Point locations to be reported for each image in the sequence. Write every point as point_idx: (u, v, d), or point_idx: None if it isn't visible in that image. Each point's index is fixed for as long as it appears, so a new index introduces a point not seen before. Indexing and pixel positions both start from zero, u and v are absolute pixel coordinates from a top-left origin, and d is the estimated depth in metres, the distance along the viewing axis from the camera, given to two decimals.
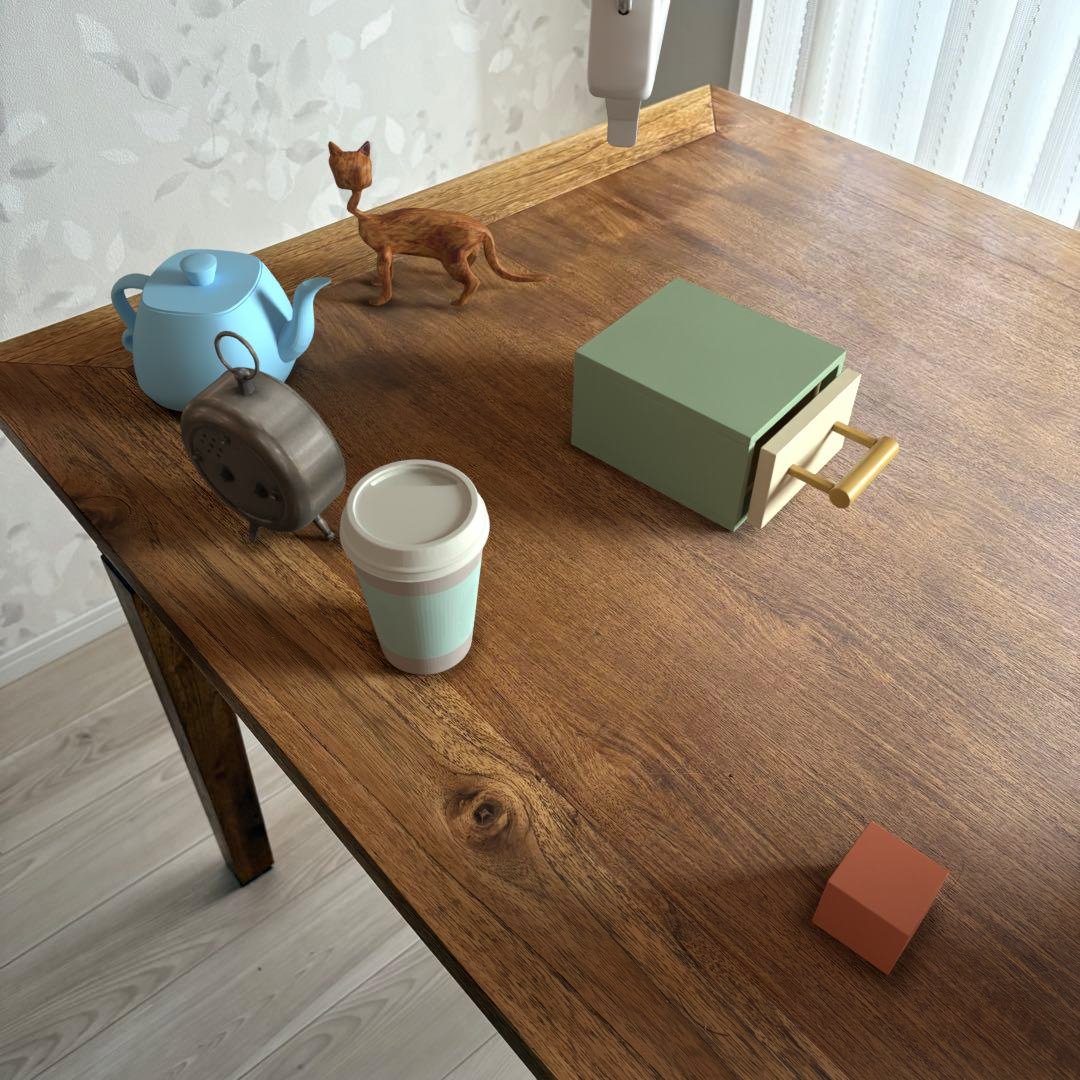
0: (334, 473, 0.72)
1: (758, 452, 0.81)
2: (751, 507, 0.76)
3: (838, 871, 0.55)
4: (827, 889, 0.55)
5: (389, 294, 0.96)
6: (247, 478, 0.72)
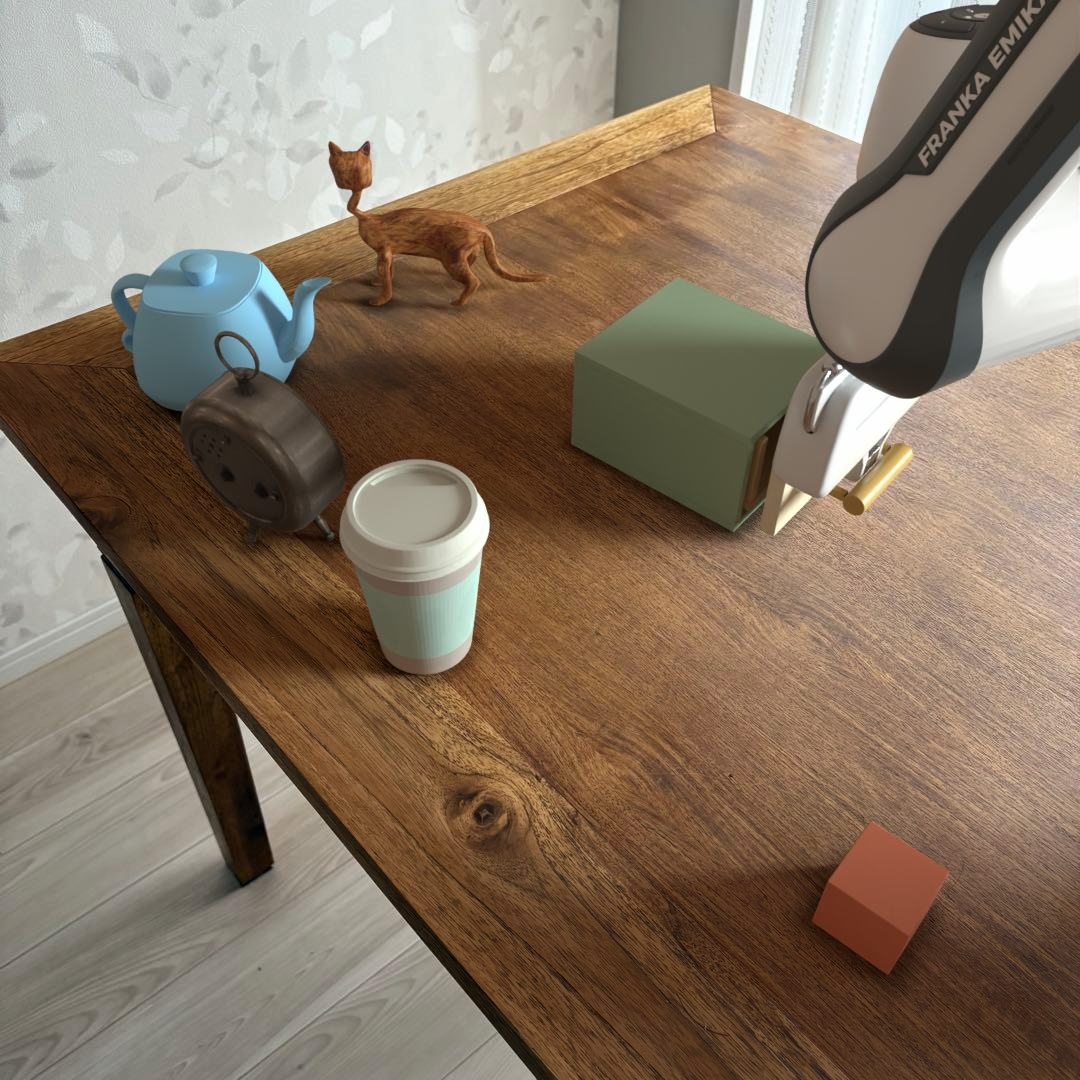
0: (334, 473, 0.72)
1: (770, 458, 0.80)
2: (764, 514, 0.75)
3: (838, 871, 0.55)
4: (827, 889, 0.55)
5: (389, 294, 0.96)
6: (247, 478, 0.72)
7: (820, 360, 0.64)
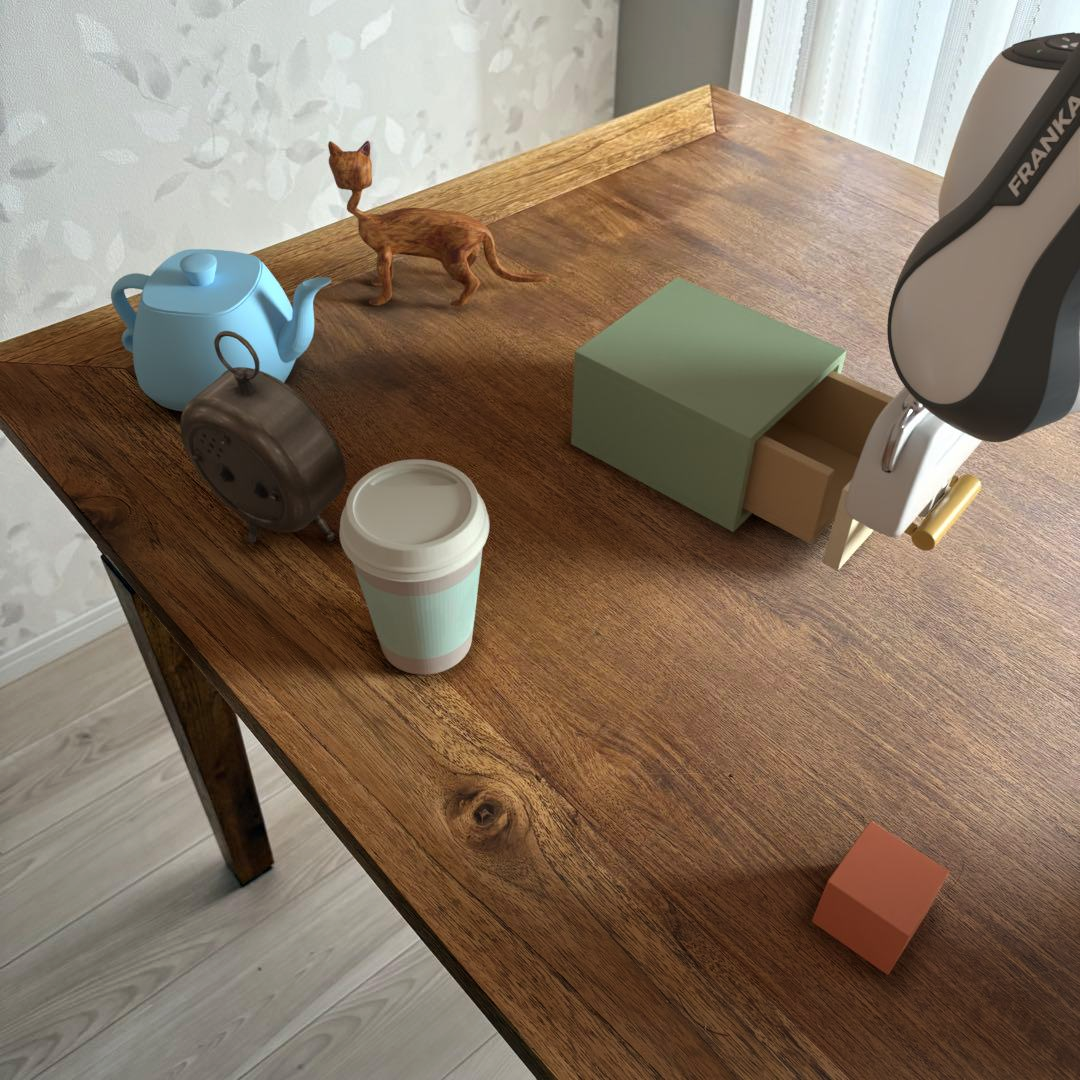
0: (334, 473, 0.72)
1: (831, 488, 0.78)
2: (828, 548, 0.73)
3: (838, 871, 0.55)
4: (827, 889, 0.55)
5: (389, 294, 0.96)
6: (247, 478, 0.72)
7: (897, 396, 0.62)
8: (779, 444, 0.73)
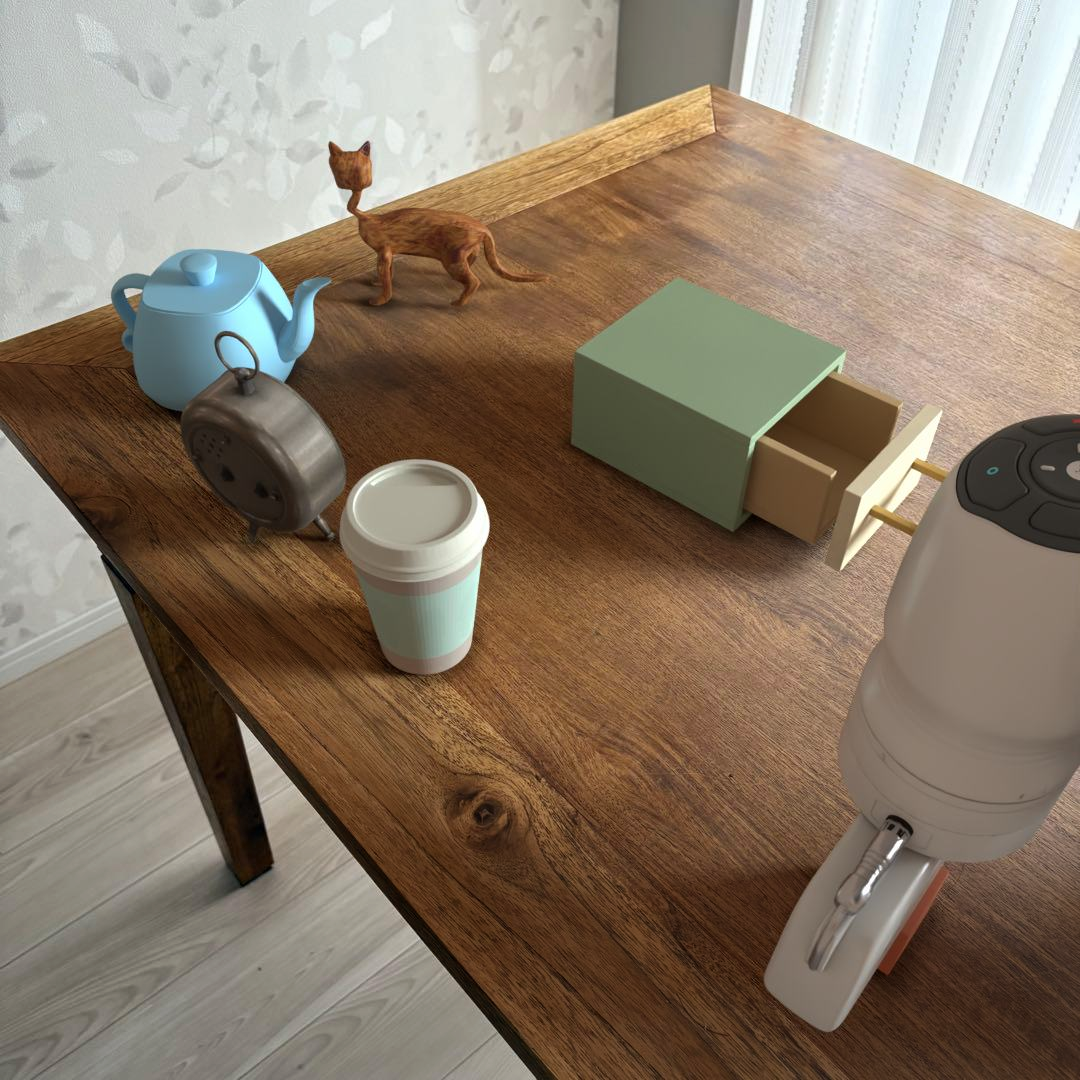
0: (334, 473, 0.72)
1: (833, 489, 0.78)
2: (830, 549, 0.73)
3: None
4: None
5: (389, 294, 0.96)
6: (247, 478, 0.72)
7: (831, 861, 0.45)
8: (781, 445, 0.73)
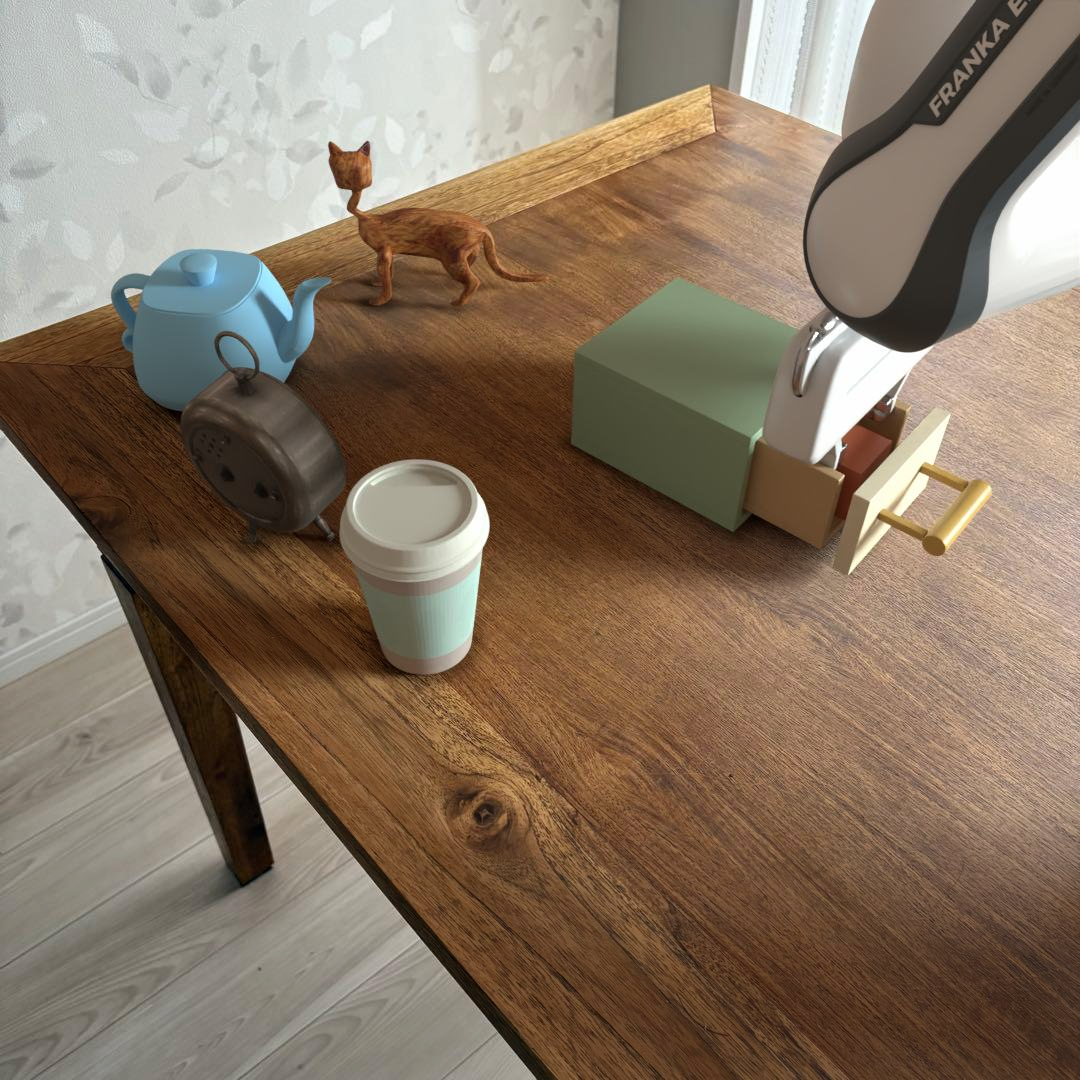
0: (334, 473, 0.72)
1: None
2: (838, 553, 0.73)
3: None
4: None
5: (389, 294, 0.96)
6: (247, 478, 0.72)
7: (808, 323, 0.63)
8: None
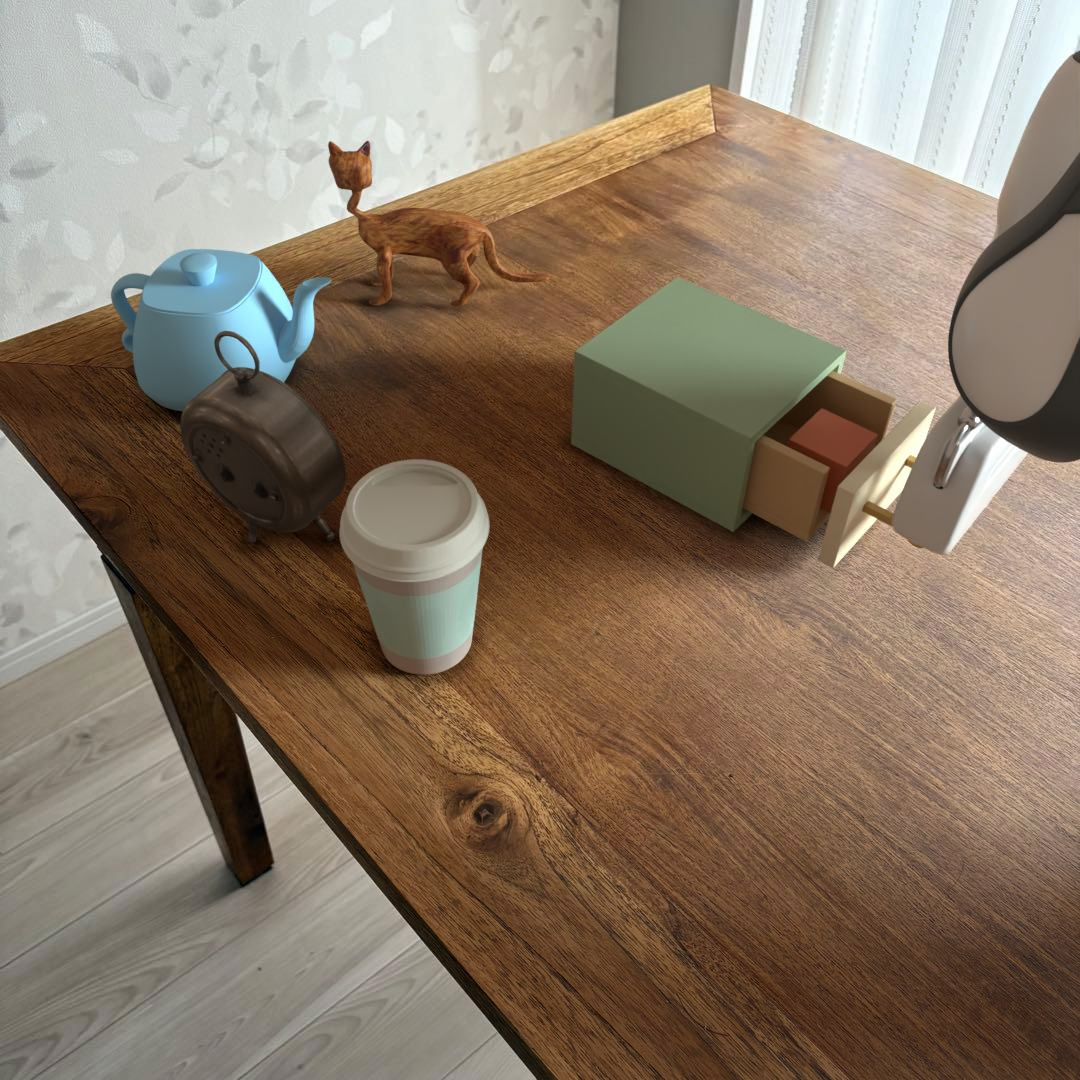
0: (334, 473, 0.72)
1: None
2: (824, 545, 0.73)
3: (796, 433, 0.75)
4: None
5: (389, 294, 0.96)
6: (247, 478, 0.72)
7: (950, 410, 0.60)
8: (774, 442, 0.73)
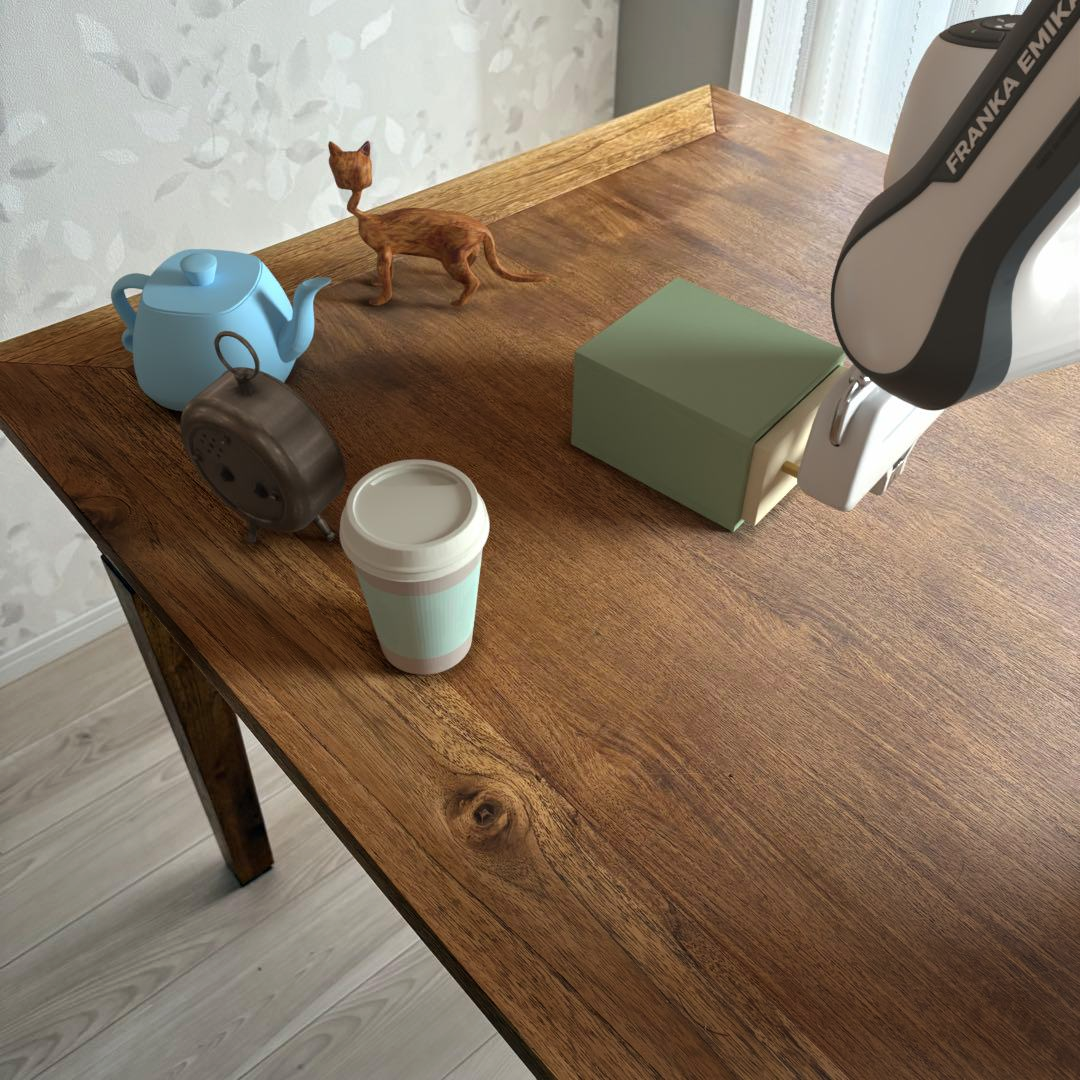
0: (334, 473, 0.72)
1: None
2: (745, 504, 0.76)
3: None
4: None
5: (389, 294, 0.96)
6: (247, 478, 0.72)
7: (846, 372, 0.63)
8: None
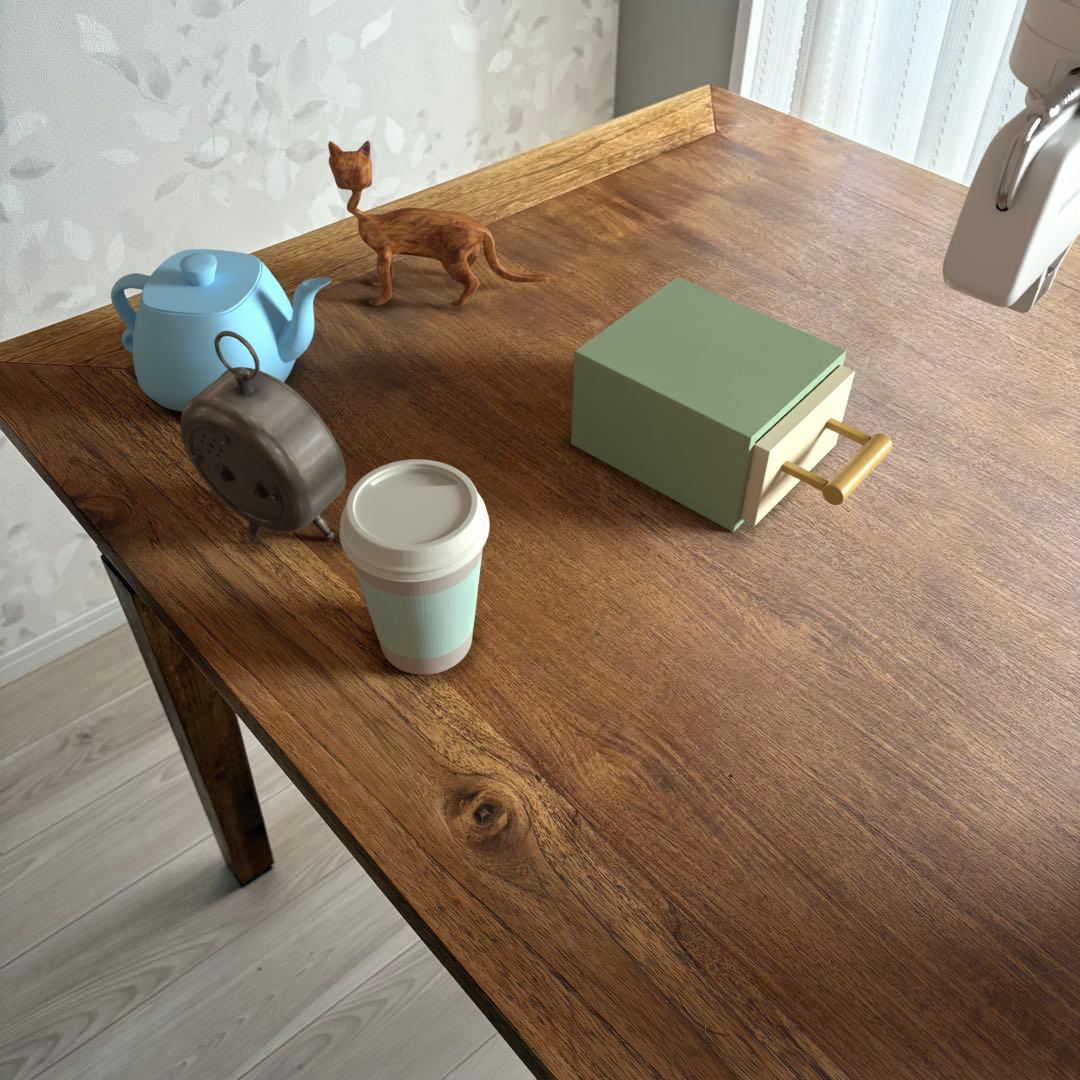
0: (334, 473, 0.72)
1: None
2: (745, 504, 0.76)
3: None
4: None
5: (389, 294, 0.96)
6: (247, 478, 0.72)
7: (1015, 118, 0.49)
8: None
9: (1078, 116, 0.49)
